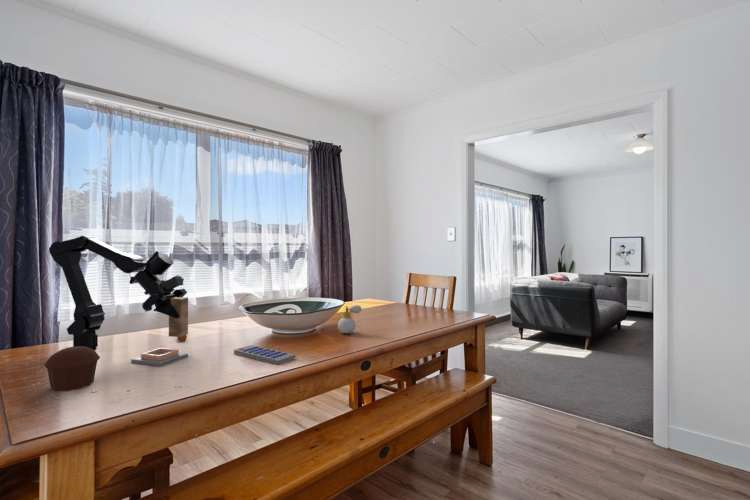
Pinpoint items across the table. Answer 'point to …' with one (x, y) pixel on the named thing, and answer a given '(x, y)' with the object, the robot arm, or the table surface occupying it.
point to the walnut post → (181, 324)
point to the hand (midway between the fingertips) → (182, 316)
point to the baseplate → (159, 357)
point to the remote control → (264, 354)
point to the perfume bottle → (348, 320)
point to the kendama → (182, 338)
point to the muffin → (72, 368)
